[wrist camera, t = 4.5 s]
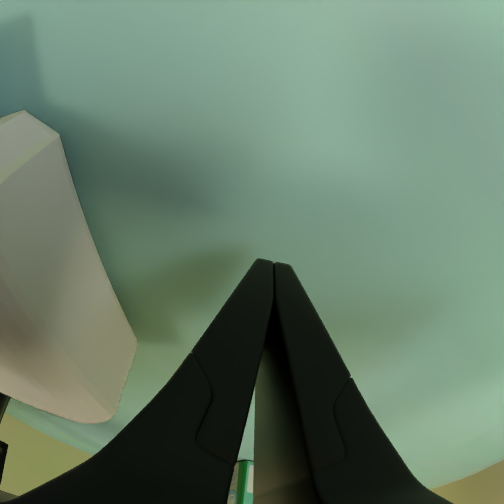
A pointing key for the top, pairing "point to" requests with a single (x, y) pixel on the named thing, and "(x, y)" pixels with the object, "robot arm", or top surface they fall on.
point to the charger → (54, 286)
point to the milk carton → (242, 483)
